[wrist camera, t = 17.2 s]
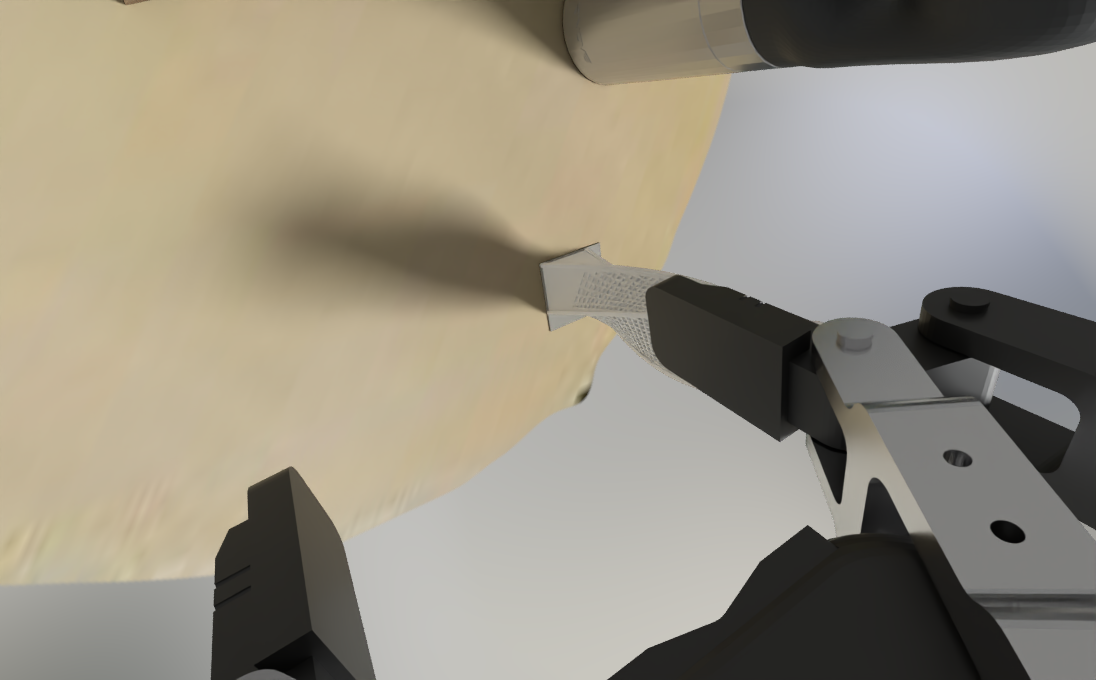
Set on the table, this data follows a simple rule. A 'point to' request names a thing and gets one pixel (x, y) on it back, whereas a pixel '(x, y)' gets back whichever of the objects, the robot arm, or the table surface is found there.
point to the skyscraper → (604, 297)
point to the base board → (133, 1)
